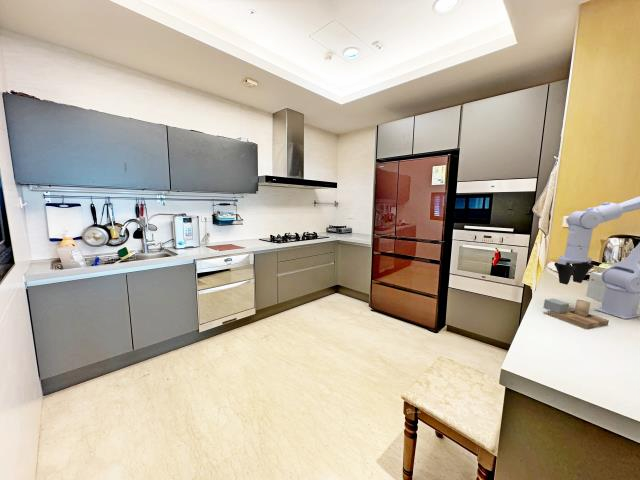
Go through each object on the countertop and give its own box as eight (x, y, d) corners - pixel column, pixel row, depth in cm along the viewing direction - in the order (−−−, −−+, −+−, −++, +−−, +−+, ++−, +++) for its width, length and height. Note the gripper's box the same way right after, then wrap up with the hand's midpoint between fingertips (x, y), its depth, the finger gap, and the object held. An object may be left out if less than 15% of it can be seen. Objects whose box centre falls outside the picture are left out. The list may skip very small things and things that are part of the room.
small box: (618, 304, 100) (624, 278, 99) (601, 302, 101) (607, 276, 100) (601, 296, 108) (606, 272, 106) (585, 295, 109) (590, 271, 107)
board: (569, 311, 91) (570, 307, 90) (607, 325, 81) (608, 320, 81) (548, 315, 87) (549, 310, 87) (586, 329, 78) (587, 324, 78)
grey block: (551, 306, 90) (553, 298, 90) (567, 312, 86) (569, 303, 86) (543, 307, 89) (544, 299, 88) (558, 313, 85) (560, 304, 84)
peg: (577, 315, 87) (580, 299, 87) (589, 320, 84) (592, 302, 84) (571, 316, 86) (574, 300, 86) (583, 321, 83) (586, 303, 83)
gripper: (576, 243, 95) (569, 278, 97) (550, 243, 91) (544, 280, 93) (602, 246, 89) (594, 284, 91) (575, 247, 84) (567, 287, 86)
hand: (570, 283), depth 91 cm, fingers open, 7 cm apart
